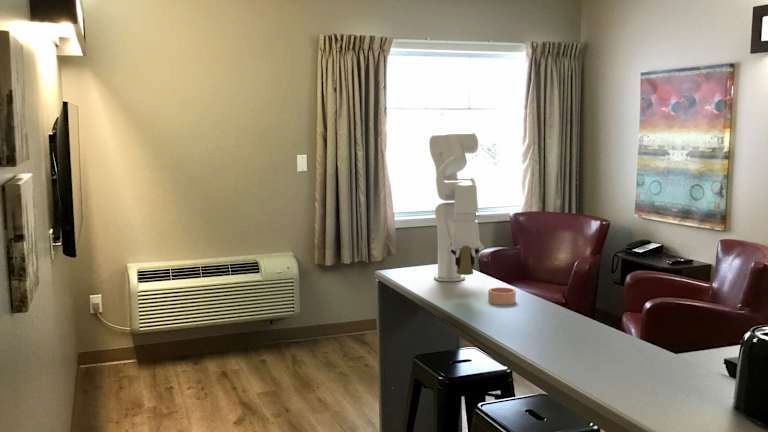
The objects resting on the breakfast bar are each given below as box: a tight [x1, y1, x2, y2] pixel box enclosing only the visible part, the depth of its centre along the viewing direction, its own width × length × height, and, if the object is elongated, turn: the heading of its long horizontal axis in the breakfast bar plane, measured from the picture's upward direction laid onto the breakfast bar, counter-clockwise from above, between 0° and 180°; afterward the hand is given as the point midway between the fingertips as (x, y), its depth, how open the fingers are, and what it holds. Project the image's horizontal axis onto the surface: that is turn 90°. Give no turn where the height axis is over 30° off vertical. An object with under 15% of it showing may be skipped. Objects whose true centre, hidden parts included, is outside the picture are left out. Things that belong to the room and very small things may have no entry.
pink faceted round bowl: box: [487, 286, 517, 306], centre depth 245 cm, size 9×9×4 cm
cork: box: [457, 246, 474, 276], centre depth 250 cm, size 6×6×11 cm
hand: (464, 266), depth 250 cm, fingers closed on cork, 4 cm apart
